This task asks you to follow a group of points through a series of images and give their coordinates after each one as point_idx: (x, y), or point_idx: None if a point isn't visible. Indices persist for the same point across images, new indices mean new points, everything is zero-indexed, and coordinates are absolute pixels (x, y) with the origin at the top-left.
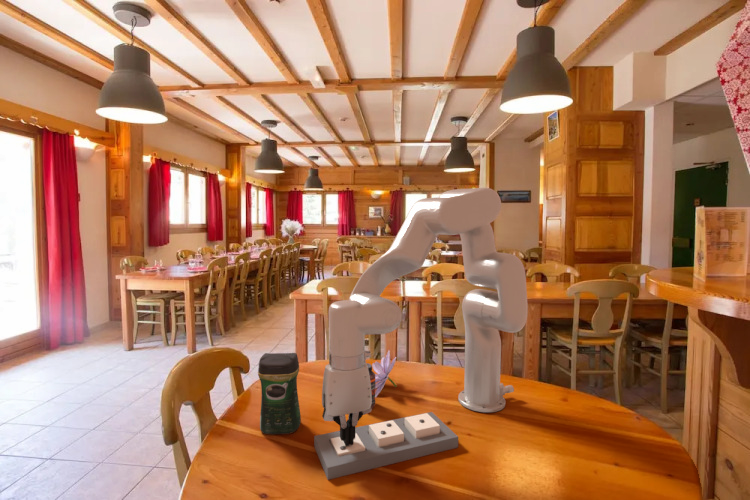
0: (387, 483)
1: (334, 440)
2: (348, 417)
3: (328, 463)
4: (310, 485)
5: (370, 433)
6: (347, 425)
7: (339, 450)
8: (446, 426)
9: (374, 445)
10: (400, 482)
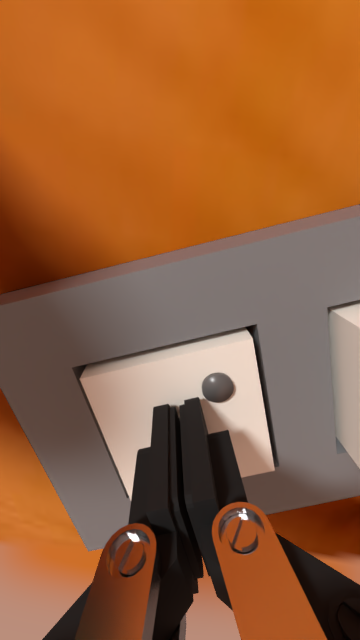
0: (302, 525)
1: (106, 400)
2: (215, 547)
3: (90, 531)
4: (41, 517)
5: (341, 344)
6: (193, 554)
7: None
8: None
9: (326, 439)
10: (344, 524)
